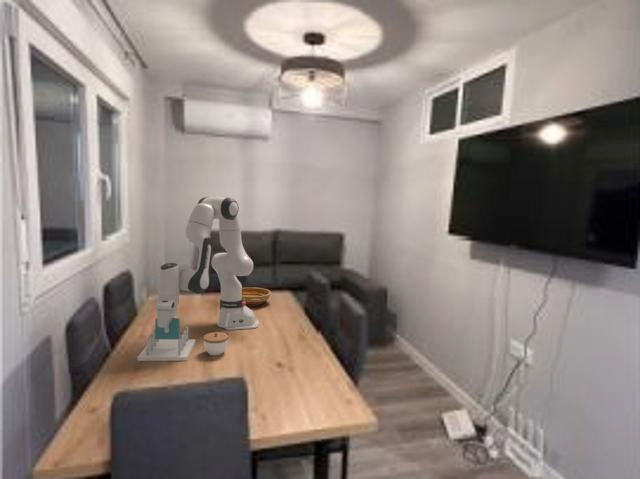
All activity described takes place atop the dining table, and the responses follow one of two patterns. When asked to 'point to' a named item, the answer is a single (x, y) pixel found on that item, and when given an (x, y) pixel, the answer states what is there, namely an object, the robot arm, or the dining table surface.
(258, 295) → the brown woven oval bowl
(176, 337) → the teal tile
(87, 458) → the dining table surface
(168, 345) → the dish rack
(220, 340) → the lidded jar
